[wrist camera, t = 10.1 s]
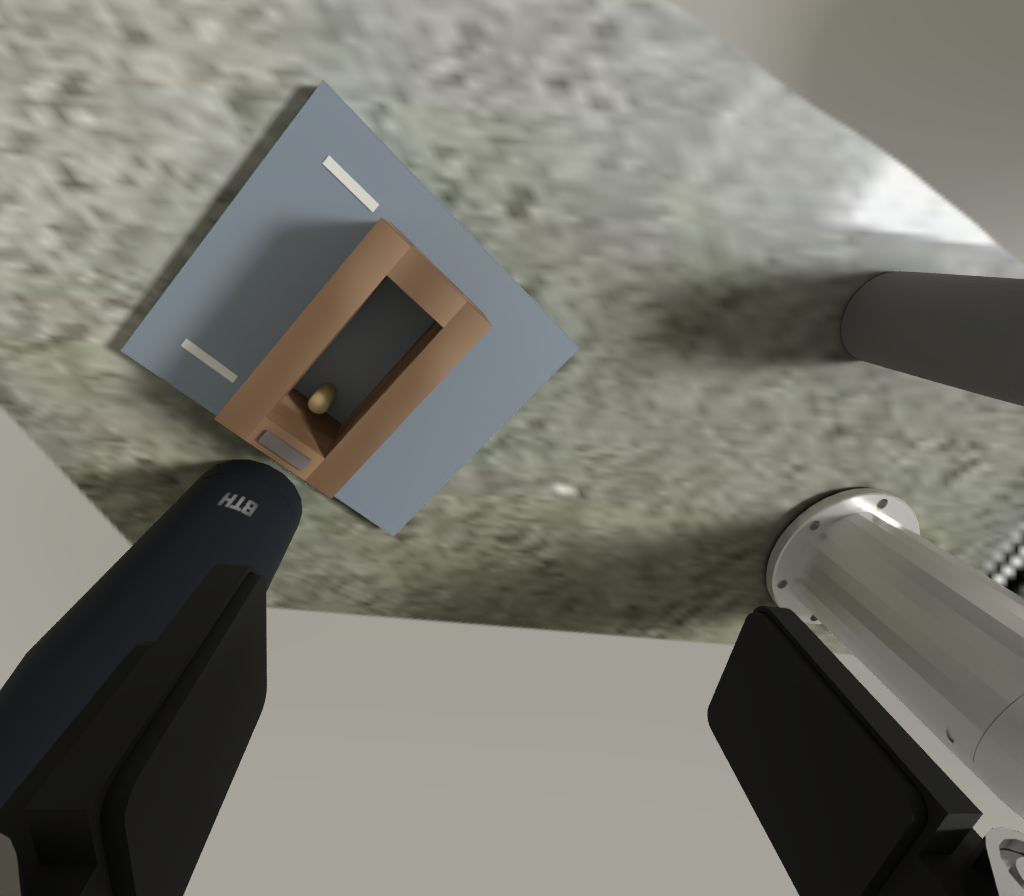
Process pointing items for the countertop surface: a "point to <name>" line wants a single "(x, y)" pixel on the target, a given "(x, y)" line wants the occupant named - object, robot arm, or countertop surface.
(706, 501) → the countertop surface
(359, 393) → the board
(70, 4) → the countertop surface
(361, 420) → the frame
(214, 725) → the robot arm
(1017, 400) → the bottle
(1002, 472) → the countertop surface
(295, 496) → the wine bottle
